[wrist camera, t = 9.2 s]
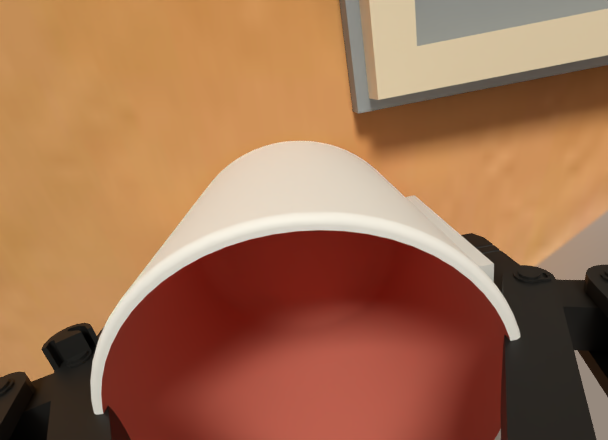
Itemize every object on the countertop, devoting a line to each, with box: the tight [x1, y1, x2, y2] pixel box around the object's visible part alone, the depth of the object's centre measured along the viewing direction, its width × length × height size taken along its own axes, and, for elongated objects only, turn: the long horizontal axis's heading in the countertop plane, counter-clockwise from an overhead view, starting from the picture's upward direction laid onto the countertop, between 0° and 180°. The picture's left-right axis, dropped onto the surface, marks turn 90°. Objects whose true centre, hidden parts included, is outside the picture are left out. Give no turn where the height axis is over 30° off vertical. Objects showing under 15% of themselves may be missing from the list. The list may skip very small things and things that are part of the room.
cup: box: [90, 141, 520, 440], centre depth 12 cm, size 10×10×10 cm
